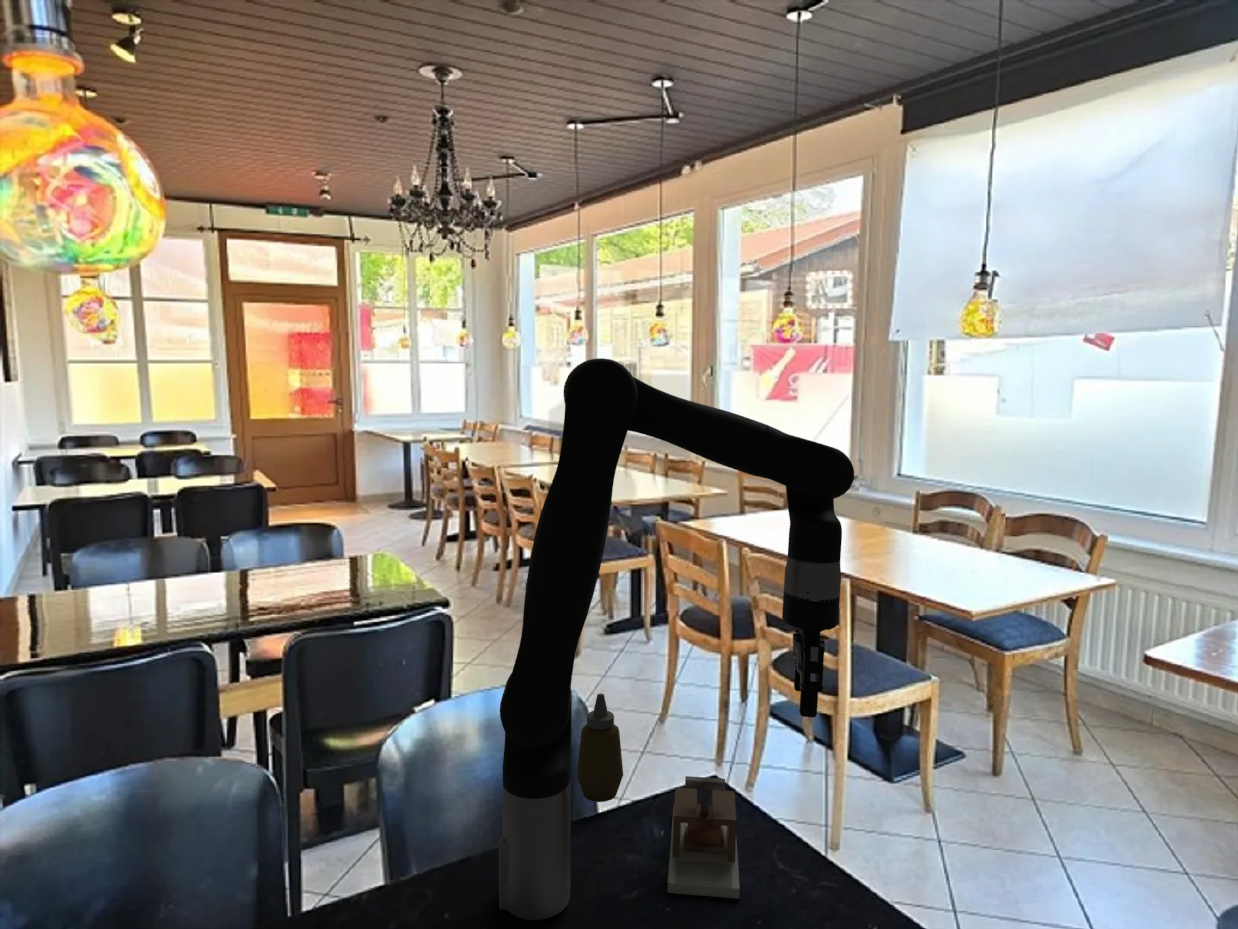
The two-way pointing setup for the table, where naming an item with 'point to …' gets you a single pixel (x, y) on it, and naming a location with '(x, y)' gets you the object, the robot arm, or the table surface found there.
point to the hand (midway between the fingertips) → (804, 702)
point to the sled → (704, 818)
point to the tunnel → (700, 867)
